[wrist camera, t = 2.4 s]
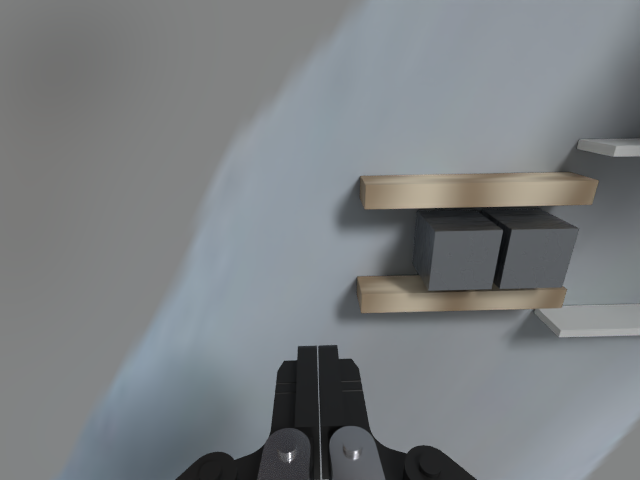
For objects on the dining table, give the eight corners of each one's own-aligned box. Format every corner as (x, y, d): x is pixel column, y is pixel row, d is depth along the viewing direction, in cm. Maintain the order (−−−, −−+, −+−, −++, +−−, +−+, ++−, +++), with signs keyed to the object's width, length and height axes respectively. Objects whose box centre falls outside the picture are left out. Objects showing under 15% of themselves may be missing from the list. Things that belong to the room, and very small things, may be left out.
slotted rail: (570, 171, 23) (598, 180, 21) (540, 289, 27) (561, 308, 25) (360, 175, 23) (365, 185, 21) (356, 294, 27) (361, 313, 24)
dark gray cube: (538, 207, 25) (579, 228, 21) (526, 259, 26) (561, 287, 22) (481, 209, 24) (511, 229, 21) (472, 261, 26) (499, 289, 22)
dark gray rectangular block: (474, 209, 24) (503, 230, 21) (466, 261, 26) (491, 289, 22) (416, 210, 24) (435, 231, 21) (411, 262, 26) (428, 290, 22)
